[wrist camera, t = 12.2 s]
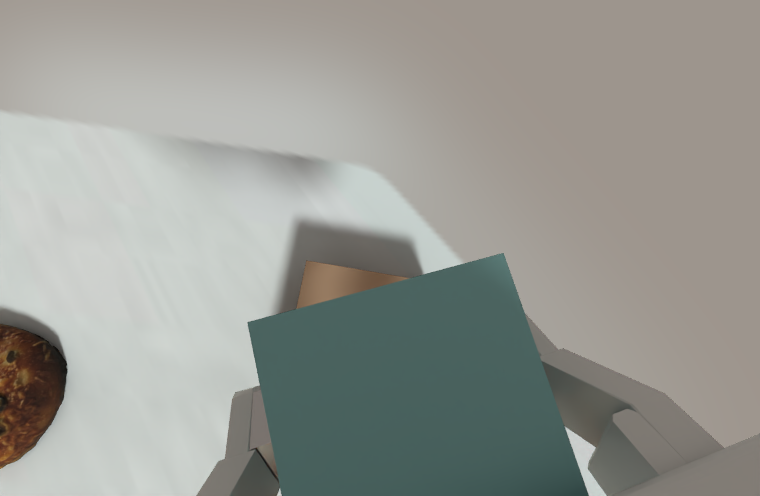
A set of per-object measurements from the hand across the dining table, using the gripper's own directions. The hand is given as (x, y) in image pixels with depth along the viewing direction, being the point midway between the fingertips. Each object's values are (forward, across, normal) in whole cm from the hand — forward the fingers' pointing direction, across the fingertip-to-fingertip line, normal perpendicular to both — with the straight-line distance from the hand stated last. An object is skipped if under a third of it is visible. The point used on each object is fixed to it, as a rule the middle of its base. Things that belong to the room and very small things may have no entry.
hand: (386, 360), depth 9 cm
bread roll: (+18, +29, +13) cm, 36 cm away
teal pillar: (+3, 0, +4) cm, 4 cm away
